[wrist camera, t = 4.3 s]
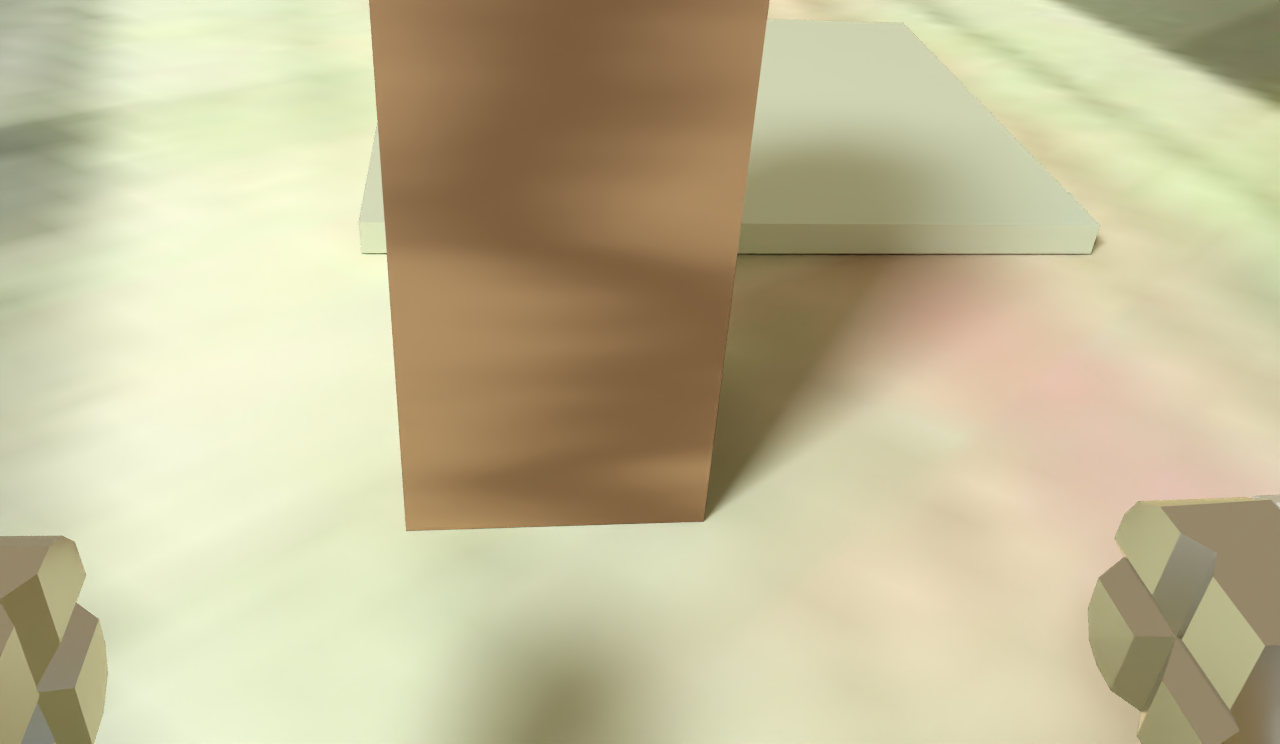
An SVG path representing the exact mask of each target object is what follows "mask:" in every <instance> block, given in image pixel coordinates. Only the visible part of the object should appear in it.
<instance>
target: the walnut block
mask: <svg viewBox="0 0 1280 744" xmlns="http://www.w3.org/2000/svg"><path fill="white" fill-rule="evenodd" d="M369 6H370V20H371V34H372V49H373V63H374V77H375V92H376V106H377V120H378V135H379V149H380V163H381V177H382V192H383V206H384V220H385V235H386V249H387V263H388V278H389V292H390V306H391V321H392V335H393V349H394V363H395V378H396V392H397V406H398V421H399V435H400V449H401V464H402V478H403V492H404V507H405V521H406V531H411V530H443V529H475V528H507V527H539V526H570V525H602V524H634V523H666V522H697V521H704V515H705V507H706V499H707V491H708V483H709V475H710V467H711V459H712V451H713V443H714V435H715V428H716V420H717V412H718V404H719V396H720V388H721V380H722V372H723V364H724V356H725V348H726V340H727V332H728V324H729V317H730V309H731V301H732V293H733V285H734V277H735V269H736V261H737V253H738V245H739V237H740V229H741V221H742V214H743V206H744V198H745V190H746V182H747V174H748V166H749V158H750V150H751V142H752V134H753V126H754V118H755V111H756V103H757V95H758V87H759V79H760V71H761V63H762V55H763V47H764V39H765V31H766V23H767V15H768V7H769V0H369Z"/></svg>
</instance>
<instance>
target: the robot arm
mask: <svg viewBox="0 0 1280 744" xmlns="http://www.w3.org/2000/svg"><path fill="white" fill-rule="evenodd" d="M1115 540H1116V542H1117V544H1118V546H1119V548H1120V550H1121V552H1122V554H1123V556H1124V558H1122V559H1121V560H1120V561H1119V562H1117V563H1116V564H1115V565H1114V566H1113V567H1111V568H1110V569H1109V570H1108V571H1106V572H1105V573H1104V574H1103V575H1102V576H1100V577H1099V578H1098V581H1097V584H1096V586H1095V589H1094V592H1093V595H1092V598H1091V601H1090V604H1089V607H1088V622H1089V641H1090V645H1091V648H1092V651H1093V655H1094V658H1095V661H1096V664H1097V667H1098V668H1099V670H1100V672H1101V674H1102V676H1103V677H1104V679H1105V681H1106V683H1107V685H1108V686H1109V688H1110V690H1111V691H1112V692H1114V693H1115V694H1117V695H1118V696H1119V697H1121V698H1122V699H1124V700H1125V701H1127V702H1128V703H1129V704H1131V705H1132V706H1134V707H1135V708H1137V709H1138V710H1139V711H1141V717H1140V722H1139V727H1138V732H1137V737H1138V739H1139V740H1140V742H1141V744H1280V495H1264V496H1255V497H1252V498H1247V497H1237V498H1212V499H1187V500H1162V501H1138V502H1137V503H1136V504H1135V505H1134V506H1133V507H1132V508H1131V509H1130V510H1129V511H1128V512H1127V513H1126V514H1125V515H1124V517H1123V519H1122V521H1121V524H1120V526H1119V529H1118V531H1117V533H1116V536H1115ZM85 577H86V573H85V570H84V567H83V565H82V562H81V559H80V556H79V553H78V550H77V547H76V544H75V542H74V541H72V540H70V539H68V538H66V537H63V536H0V744H94V742H95V738H96V735H97V732H98V729H99V725H100V722H101V719H102V716H103V712H104V703H105V694H106V685H107V677H108V668H107V657H106V645H105V640H104V637H103V633H102V629H101V625H100V622H99V619H98V618H96V617H95V616H94V615H92V614H91V613H90V612H88V611H87V610H86V609H84V608H83V607H81V606H80V605H79V604H77V603H76V601H77V598H78V596H79V593H80V590H81V588H82V585H83V583H84V580H85Z"/></svg>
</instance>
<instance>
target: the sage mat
mask: <svg viewBox="0 0 1280 744" xmlns="http://www.w3.org/2000/svg"><path fill="white" fill-rule="evenodd" d="M1099 227H1100V225H1099V224H1098V223H1097V222H1096V220H1095V219H1094V218H1093V217H1092V216H1091V215H1090V214H1089V213H1088V212H1087V211H1086V210H1085V209H1084V208H1083V207H1082V206H1081V205H1080V204H1079V203H1078V202H1077V201H1076V200H1075V199H1074V198H1073V197H1072V196H1071V195H1070V194H1069V193H1068V192H1067V191H1066V190H1065V189H1064V188H1063V187H1062V186H1061V184H1060V183H1059V182H1058V181H1057V180H1056V179H1055V178H1054V177H1053V176H1052V175H1051V174H1050V173H1049V172H1048V171H1047V170H1046V169H1045V168H1044V167H1043V166H1042V165H1041V164H1040V163H1039V162H1038V161H1037V160H1036V159H1035V158H1034V157H1033V156H1032V155H1031V154H1030V153H1029V152H1028V151H1027V150H1026V148H1025V147H1024V146H1023V145H1022V144H1021V143H1020V142H1019V141H1018V140H1017V139H1016V138H1015V137H1014V136H1013V135H1012V134H1011V133H1010V132H1009V131H1008V130H1007V129H1006V128H1005V127H1004V126H1003V125H1002V124H1001V123H1000V122H999V121H998V120H997V119H996V118H995V117H994V116H993V115H992V113H991V112H990V111H989V110H988V109H987V108H986V107H985V106H984V105H983V104H982V103H981V102H980V101H979V100H978V99H977V98H976V97H975V96H974V95H973V94H972V93H971V92H970V91H969V90H968V89H967V88H966V87H965V86H964V85H963V84H962V83H961V82H960V81H959V80H958V79H957V77H956V76H955V75H954V74H953V73H952V72H951V71H950V70H949V69H948V68H947V67H946V66H945V65H944V64H943V63H942V62H941V61H940V60H939V59H938V58H937V57H936V56H935V55H934V54H933V53H932V52H931V51H930V50H929V49H928V48H927V47H926V46H925V45H924V44H923V43H922V41H921V40H920V39H919V38H918V37H917V36H916V35H915V34H914V33H913V32H912V31H911V30H910V29H909V28H908V27H907V26H906V25H905V24H904V23H889V22H854V21H819V20H784V19H767V23H766V31H765V39H764V47H763V55H762V63H761V71H760V79H759V87H758V95H757V103H756V111H755V118H754V126H753V134H752V142H751V150H750V158H749V166H748V174H747V182H746V190H745V198H744V206H743V214H742V221H741V229H740V237H739V245H738V253H915V254H1091V252H1092V249H1093V245H1094V242H1095V239H1096V236H1097V233H1098V230H1099ZM359 232H360V244H361V253H387V249H386V235H385V220H384V206H383V192H382V177H381V163H380V149H379V135H378V122H377V127H376V132H375V138H374V143H373V148H372V154H371V159H370V164H369V170H368V175H367V180H366V186H365V191H364V196H363V202H362V207H361V212H360V218H359Z"/></svg>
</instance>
